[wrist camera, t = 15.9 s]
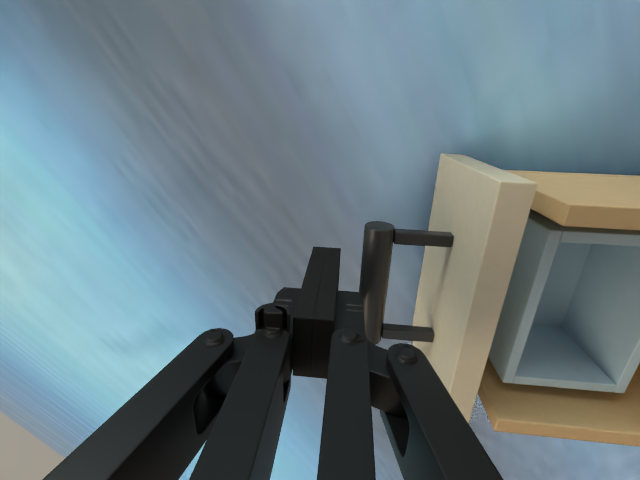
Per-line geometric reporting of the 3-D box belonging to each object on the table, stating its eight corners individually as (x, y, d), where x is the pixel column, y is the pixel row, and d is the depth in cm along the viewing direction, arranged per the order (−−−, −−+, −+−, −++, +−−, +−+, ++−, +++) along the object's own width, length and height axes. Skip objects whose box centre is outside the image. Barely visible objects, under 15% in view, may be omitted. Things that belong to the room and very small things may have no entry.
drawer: (352, 329, 23) (351, 430, 15) (366, 150, 18) (375, 175, 11) (615, 351, 21) (749, 474, 14) (705, 163, 17) (974, 202, 9)
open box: (497, 198, 17) (549, 230, 13) (607, 203, 17) (704, 238, 12) (468, 321, 20) (502, 382, 16) (561, 328, 20) (624, 393, 15)
